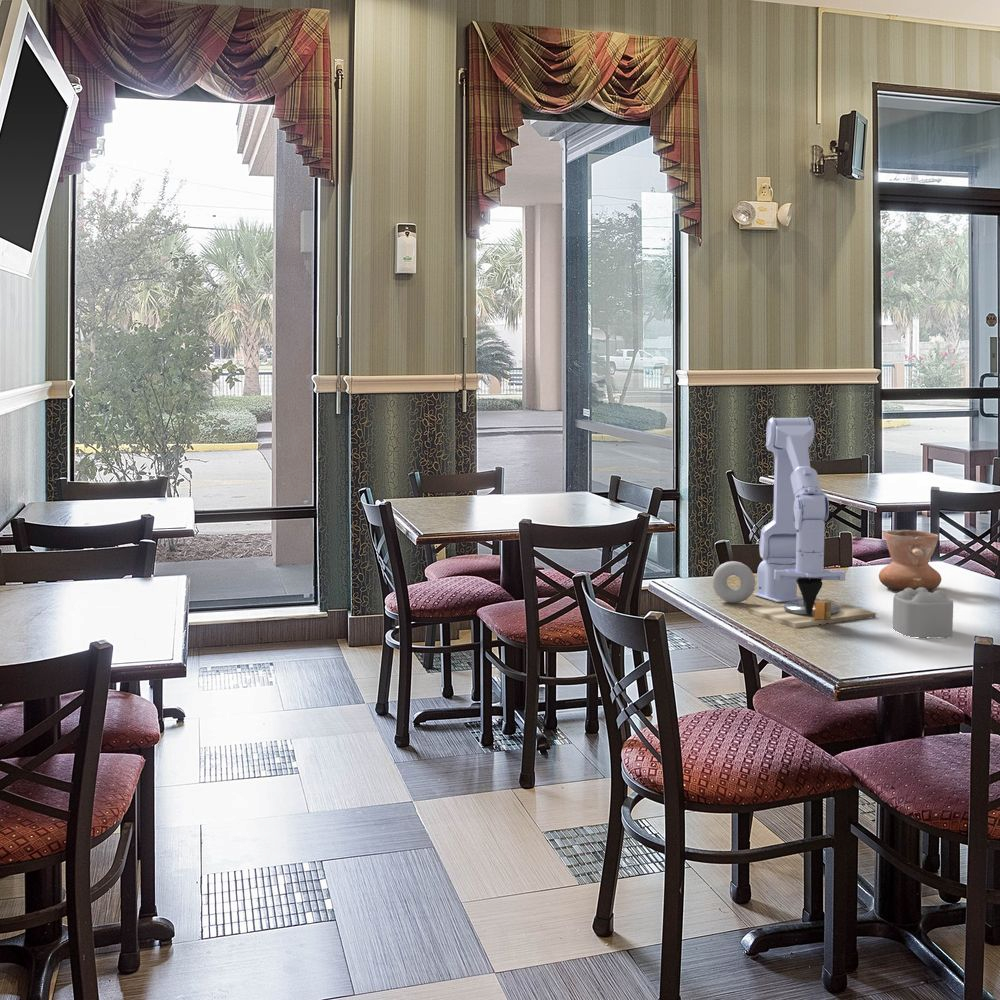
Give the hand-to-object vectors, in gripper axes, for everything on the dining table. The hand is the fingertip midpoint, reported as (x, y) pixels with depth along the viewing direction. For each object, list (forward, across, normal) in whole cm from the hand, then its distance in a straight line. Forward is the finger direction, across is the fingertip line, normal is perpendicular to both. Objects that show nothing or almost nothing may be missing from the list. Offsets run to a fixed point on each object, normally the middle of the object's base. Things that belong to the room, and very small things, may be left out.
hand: (808, 612), depth 230 cm
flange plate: (+1, +2, +7) cm, 7 cm away
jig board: (+2, +2, +8) cm, 9 cm away
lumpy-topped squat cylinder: (+3, +22, -4) cm, 23 cm away
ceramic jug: (+3, +31, +39) cm, 50 cm away
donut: (+3, -14, +20) cm, 25 cm away
